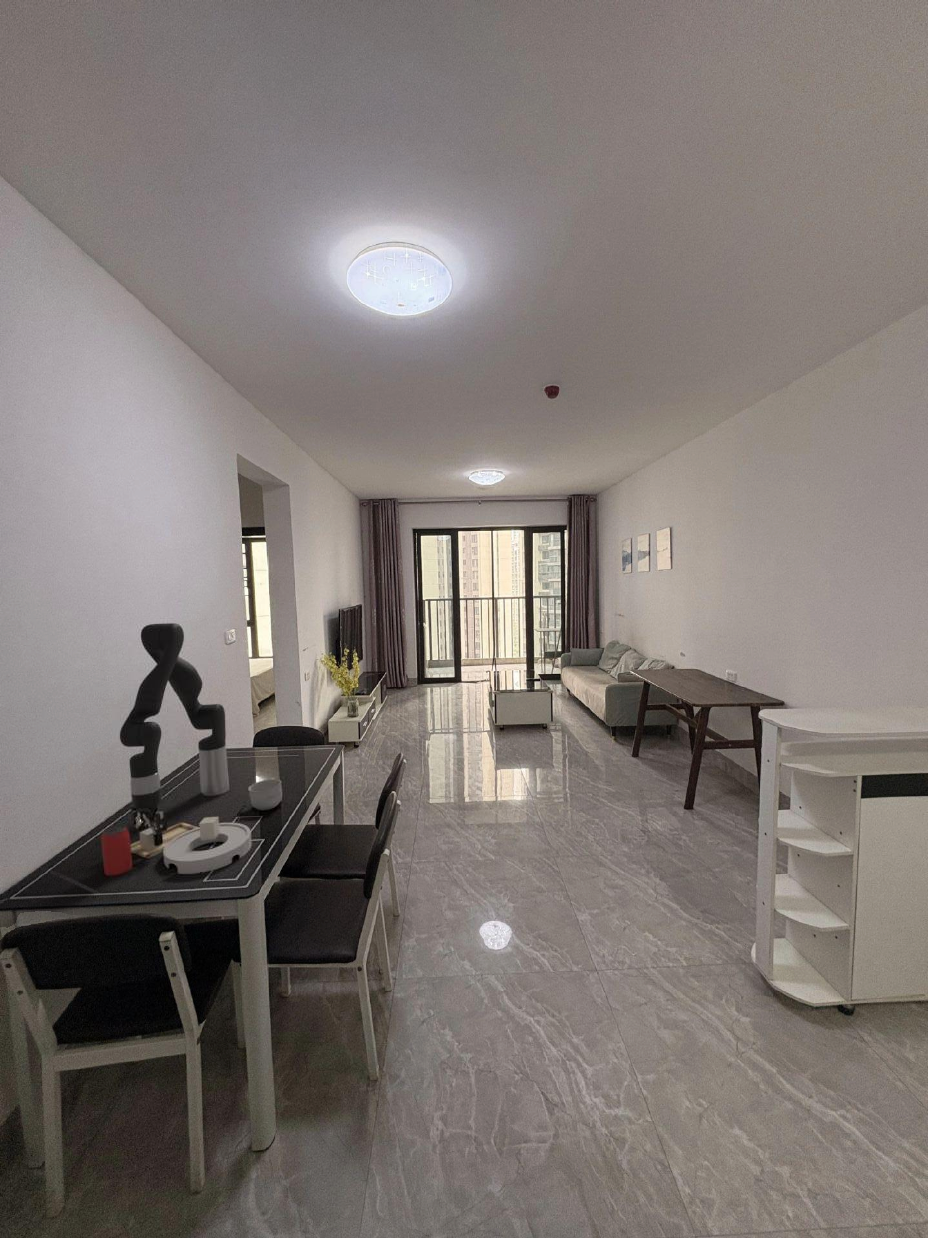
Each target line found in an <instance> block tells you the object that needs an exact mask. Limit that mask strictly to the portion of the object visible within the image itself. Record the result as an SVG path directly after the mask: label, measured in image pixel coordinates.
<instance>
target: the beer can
mask: <svg viewBox="0 0 928 1238" xmlns="http://www.w3.org/2000/svg"><path fill="white" fill-rule="evenodd" d="M130 836H131V835H130V831H129V829H128V827H127V825H126V824H115V825H112V826H109V827H107V828H106V829H104V830H103V831H102V835H101V849H102V850H101V851H102V859H103V860H102V861H103V869H104V875H106V876H117V875H120V874H123V873H126V872H128V871H129V870H131V869H132V868H133V857H132V854H133V853H132V852H131V844H132V843H131V837H130Z"/></svg>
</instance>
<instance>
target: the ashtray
mask: <svg viewBox="0 0 928 1238" xmlns="http://www.w3.org/2000/svg"><path fill="white" fill-rule="evenodd" d="M197 827H198V828H195V829H192V830H190V831H187V832H185V833H182V834H181V835H179V836H177V837H175V838H174V839H172V840H171V841H170V842H168V843H167V845H166V846H165V847H164V851H163V852H162V853H163V855H162V856H163V864H164V866H165V867H166V868H167V869H169V868H170V866H171V864H173V865H175V866H176V868H177V874H179V875H180V874H181V875H193V874H201V873H200V872H202V873H206V872H210V871H215V870H217V869H220V868H223V867H226V866H228V865H230V864H232V862H233V858H234V856H236V855H238V856H239V859H241V858H243V857H244V856H245V855H246V854H247V853H248V852H249V851H250V850H251V847H252V844H253V841H252V832H251V829H250V827H248V826H247V825H245V824H243V823H239V822H219V829H220V833H219V834H218V836H217V837H216V838H215V839H210V840H201V838H200V827H199V826H197ZM215 842H218V843H219V842H221V843H222V844H220V845H218V846H217V847H214V848H210V849H206V850H205V849H204V850H195V849H196V848H198V847H200V846H202V845H206V844H209V843H215Z"/></svg>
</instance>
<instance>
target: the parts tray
mask: <svg viewBox="0 0 928 1238" xmlns="http://www.w3.org/2000/svg"><path fill="white" fill-rule="evenodd" d="M198 827H199V826H196V825H192V824H189V823H186V822H182V821H181V822H178V823H176V824H174V825H171V826H170V827H167V830H166V831H163V832H162V836H163V844H162V846H160V847H158V848H155V849H153V850H151V851H146V850H143V849H141V844H140V840H137V841H135V842H133V843H130V844H131V854H135V855H137V856H140V857H142V858H145V859H150V858H153V857H155V856H158V855H159V854H161V853H163V851H164V847H165V846H166V845H167V843H168V842H170V841H171V840H172V839H174V838H175V837H177V836H179V835H181V834H182V833H185V832H187V831H190V830H192V829H195V828H198Z"/></svg>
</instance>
